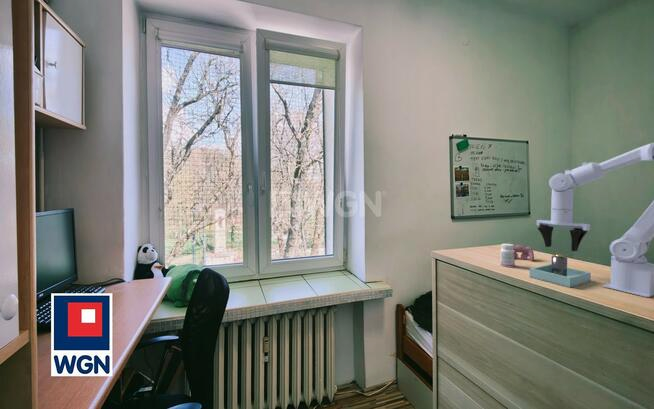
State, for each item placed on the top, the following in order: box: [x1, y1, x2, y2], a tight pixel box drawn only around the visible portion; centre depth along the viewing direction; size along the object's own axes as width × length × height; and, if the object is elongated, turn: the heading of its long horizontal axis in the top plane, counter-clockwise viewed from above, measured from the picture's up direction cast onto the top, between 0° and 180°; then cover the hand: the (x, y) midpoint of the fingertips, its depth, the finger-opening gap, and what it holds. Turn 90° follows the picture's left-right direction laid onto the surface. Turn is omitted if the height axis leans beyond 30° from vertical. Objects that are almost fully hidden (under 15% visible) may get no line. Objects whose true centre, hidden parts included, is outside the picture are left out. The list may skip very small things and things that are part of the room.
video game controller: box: [513, 244, 535, 262], centre depth 119 cm, size 10×5×7 cm, turn 59°
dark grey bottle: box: [551, 253, 568, 277], centre depth 93 cm, size 4×4×8 cm
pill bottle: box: [499, 243, 516, 268], centre depth 109 cm, size 5×5×8 cm
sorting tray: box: [529, 263, 592, 289], centre depth 93 cm, size 12×12×3 cm
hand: (560, 248), depth 96 cm, fingers open, 7 cm apart
